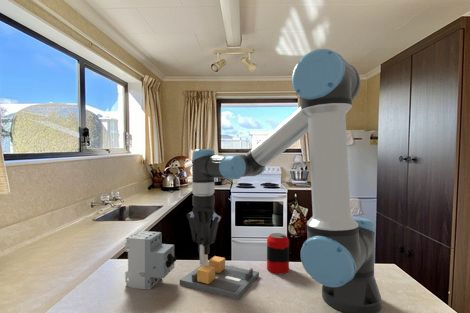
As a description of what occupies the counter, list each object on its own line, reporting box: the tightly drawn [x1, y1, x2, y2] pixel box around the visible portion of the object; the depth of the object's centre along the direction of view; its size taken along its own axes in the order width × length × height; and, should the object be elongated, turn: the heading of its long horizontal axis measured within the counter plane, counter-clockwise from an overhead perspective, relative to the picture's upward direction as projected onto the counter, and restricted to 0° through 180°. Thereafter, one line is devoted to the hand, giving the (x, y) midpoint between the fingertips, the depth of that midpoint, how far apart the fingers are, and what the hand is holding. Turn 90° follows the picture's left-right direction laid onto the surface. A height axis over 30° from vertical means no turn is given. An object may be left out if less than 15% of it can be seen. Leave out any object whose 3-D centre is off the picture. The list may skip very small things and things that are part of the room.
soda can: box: [266, 232, 290, 275], centre depth 95 cm, size 8×8×12 cm
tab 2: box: [208, 255, 226, 273], centre depth 91 cm, size 4×4×4 cm
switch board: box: [179, 261, 260, 301], centre depth 87 cm, size 20×16×4 cm
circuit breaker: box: [124, 230, 177, 290], centre depth 85 cm, size 8×14×15 cm, turn 78°
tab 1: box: [197, 265, 215, 284], centre depth 84 cm, size 4×4×4 cm
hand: (203, 262), depth 93 cm, fingers closed
